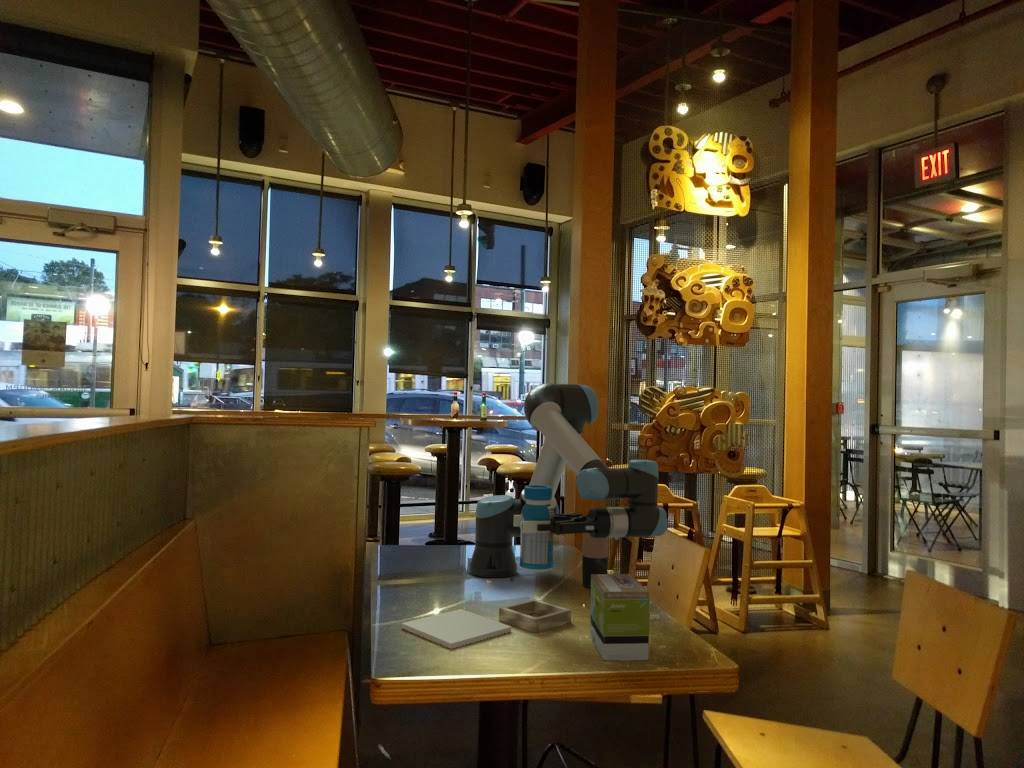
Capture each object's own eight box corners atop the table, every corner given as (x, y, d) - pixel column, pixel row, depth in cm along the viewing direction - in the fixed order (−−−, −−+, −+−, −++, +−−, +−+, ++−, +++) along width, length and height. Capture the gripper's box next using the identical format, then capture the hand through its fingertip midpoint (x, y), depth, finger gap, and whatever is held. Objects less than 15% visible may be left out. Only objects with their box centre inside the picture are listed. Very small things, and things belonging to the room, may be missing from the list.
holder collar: (498, 620, 173) (499, 607, 173) (534, 610, 182) (534, 599, 182) (535, 633, 164) (536, 619, 164) (570, 622, 173) (571, 610, 173)
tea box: (588, 637, 162) (590, 572, 162) (631, 637, 163) (633, 572, 163) (602, 661, 147) (604, 589, 147) (649, 661, 148) (651, 590, 148)
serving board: (401, 628, 165) (401, 623, 165) (460, 613, 177) (460, 609, 177) (451, 649, 152) (451, 643, 152) (511, 631, 164) (511, 626, 164)
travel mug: (607, 582, 213) (608, 515, 213) (608, 589, 205) (609, 519, 206) (581, 581, 213) (583, 514, 214) (581, 587, 206) (583, 518, 206)
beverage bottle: (529, 574, 167) (531, 489, 168) (512, 566, 175) (514, 485, 176) (560, 571, 171) (562, 488, 172) (542, 563, 179) (544, 484, 179)
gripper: (622, 546, 168) (529, 548, 162) (591, 529, 188) (507, 531, 182) (623, 514, 168) (530, 515, 162) (592, 501, 188) (508, 502, 182)
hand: (518, 523), depth 172 cm, fingers closed on beverage bottle, 8 cm apart
